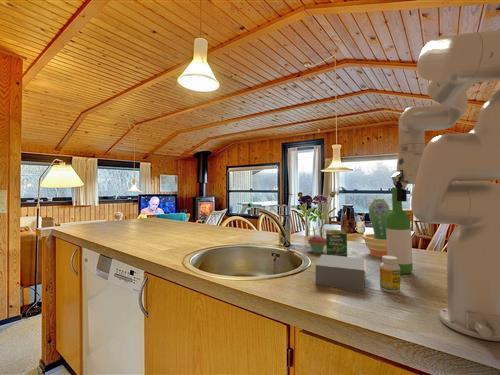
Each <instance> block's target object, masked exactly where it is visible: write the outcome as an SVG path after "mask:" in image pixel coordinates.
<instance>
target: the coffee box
mask: <svg viewBox="0 0 500 375" xmlns="http://www.w3.org/2000/svg"><path fill="white" fill-rule="evenodd" d="M347 232H348V231H347V229H345V230H344V229H342V230H339V229H326V230H325V239H326V245H325V247H326V248H325V249H326V255H333V256H344V257H348V238H347V237H348V233H347Z"/></svg>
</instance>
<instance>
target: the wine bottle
mask: <svg viewBox="0 0 500 375" xmlns="http://www.w3.org/2000/svg"><path fill="white" fill-rule="evenodd" d="M391 205H392V209H391V210H390V212H389V213H388V215H387V217H386V236H387V256H394V257H397V260H398V262H397V263H396V264H398V265H399V266H400V275H401V274H402V275H407V274H410V273H412V272H413V270H414V269H413V268H414V267H413V247H412V246H413V242H412V226H411V224H412V223H411V217H410V215H409V214H408V212H406V211H405V210H404V209H403V201H397V189H395V186H394V187H391Z"/></svg>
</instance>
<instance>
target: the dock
mask: <svg viewBox="0 0 500 375" xmlns="http://www.w3.org/2000/svg"><path fill="white" fill-rule="evenodd" d="M314 269H315V285H320V286H327V287H333V288H334V287H336V288H341V289H347V290H348V289H349V290H354V291H355V290H356V291H362V292H363V291H365V279H366V278H367V274H366V273H367V272H366V259H365V258H363V257H356V256H355V257H353V256H352V257H351V256H347V257H344V256H333V255H327V254H321V255H320V257H319V258H318V260H317V262H316V263H315V268H314Z"/></svg>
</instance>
